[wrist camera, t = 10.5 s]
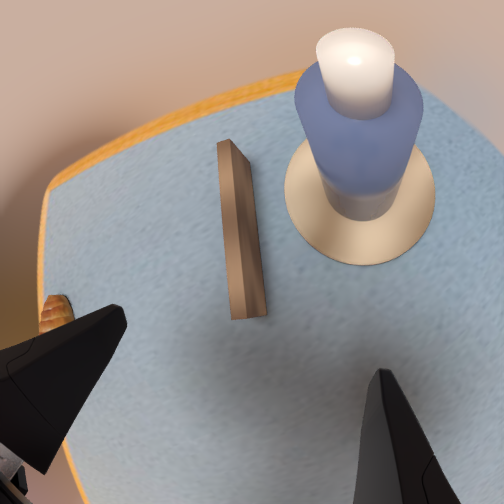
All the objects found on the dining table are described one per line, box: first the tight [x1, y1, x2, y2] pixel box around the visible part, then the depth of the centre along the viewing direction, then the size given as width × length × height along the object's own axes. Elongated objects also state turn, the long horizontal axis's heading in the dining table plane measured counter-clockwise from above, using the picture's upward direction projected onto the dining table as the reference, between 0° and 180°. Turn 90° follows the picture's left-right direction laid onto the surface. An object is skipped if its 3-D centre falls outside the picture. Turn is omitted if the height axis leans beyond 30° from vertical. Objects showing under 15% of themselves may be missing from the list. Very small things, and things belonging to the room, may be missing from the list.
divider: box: [217, 139, 267, 320], centre depth 20 cm, size 12×1×4 cm, turn 6°
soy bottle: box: [294, 28, 423, 221], centre depth 13 cm, size 5×5×12 cm
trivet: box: [284, 139, 435, 265], centre depth 19 cm, size 11×11×1 cm
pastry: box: [39, 295, 74, 335], centre depth 27 cm, size 9×7×4 cm
